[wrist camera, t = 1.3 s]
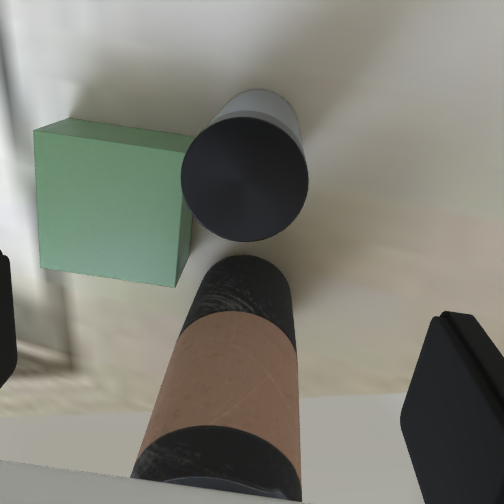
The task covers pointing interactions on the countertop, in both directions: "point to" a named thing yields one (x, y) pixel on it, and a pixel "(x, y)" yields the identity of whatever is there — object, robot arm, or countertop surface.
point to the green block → (112, 201)
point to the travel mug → (230, 390)
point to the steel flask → (247, 169)
